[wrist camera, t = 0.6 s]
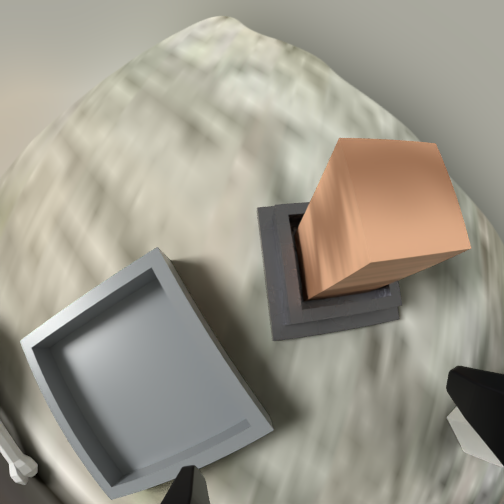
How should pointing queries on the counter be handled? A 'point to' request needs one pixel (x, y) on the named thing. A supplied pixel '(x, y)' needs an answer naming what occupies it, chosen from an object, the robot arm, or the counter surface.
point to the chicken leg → (16, 458)
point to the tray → (142, 380)
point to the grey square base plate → (290, 288)
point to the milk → (470, 438)
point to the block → (377, 218)
